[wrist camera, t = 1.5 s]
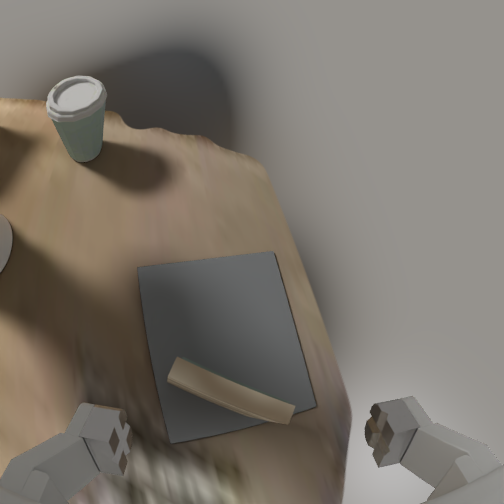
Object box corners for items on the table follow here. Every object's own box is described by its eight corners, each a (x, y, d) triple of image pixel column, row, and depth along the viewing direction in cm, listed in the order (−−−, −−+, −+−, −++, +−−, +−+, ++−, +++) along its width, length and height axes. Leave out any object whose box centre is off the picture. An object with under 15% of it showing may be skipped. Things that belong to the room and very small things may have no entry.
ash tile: (246, 416, 40) (288, 424, 27) (167, 382, 40) (167, 376, 26) (252, 401, 42) (296, 403, 28) (173, 367, 41) (178, 353, 27)
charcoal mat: (170, 443, 36) (170, 443, 36) (137, 268, 46) (137, 267, 46) (315, 406, 44) (316, 406, 43) (272, 252, 53) (273, 251, 53)
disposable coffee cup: (120, 138, 56) (118, 76, 43) (94, 179, 50) (83, 116, 37) (77, 128, 54) (68, 69, 41) (49, 166, 49) (31, 106, 36)
